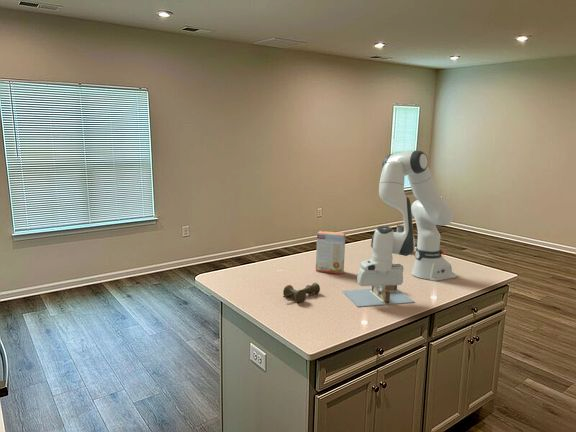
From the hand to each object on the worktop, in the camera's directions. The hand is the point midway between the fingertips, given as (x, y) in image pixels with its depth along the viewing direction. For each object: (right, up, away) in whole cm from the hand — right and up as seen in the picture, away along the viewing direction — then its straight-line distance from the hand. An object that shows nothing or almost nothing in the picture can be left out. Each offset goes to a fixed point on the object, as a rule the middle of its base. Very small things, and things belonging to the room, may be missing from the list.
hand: (378, 294), depth 191 cm
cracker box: (-18, +5, +38) cm, 43 cm away
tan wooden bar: (+1, -2, +4) cm, 4 cm away
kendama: (-34, -2, +2) cm, 35 cm away
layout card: (0, -2, +5) cm, 6 cm away
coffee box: (+31, +12, +79) cm, 86 cm away
